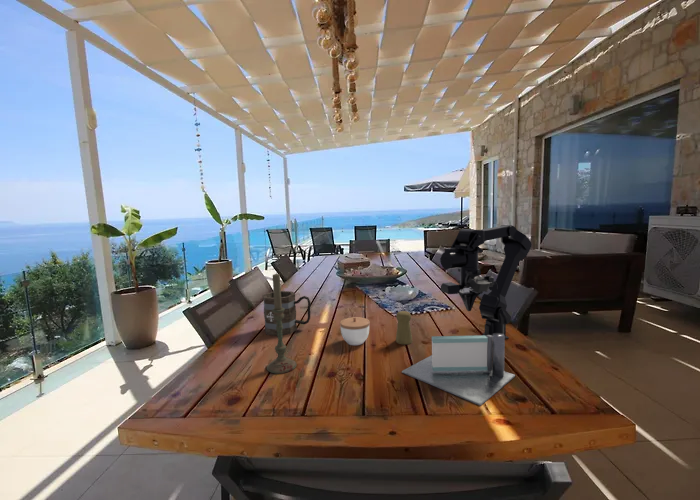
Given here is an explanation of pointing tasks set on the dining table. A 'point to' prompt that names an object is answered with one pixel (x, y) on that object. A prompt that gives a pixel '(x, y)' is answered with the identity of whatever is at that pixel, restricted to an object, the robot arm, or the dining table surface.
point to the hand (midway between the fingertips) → (468, 310)
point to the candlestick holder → (279, 333)
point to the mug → (289, 312)
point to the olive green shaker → (403, 328)
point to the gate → (462, 353)
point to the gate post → (467, 376)
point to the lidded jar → (355, 330)
